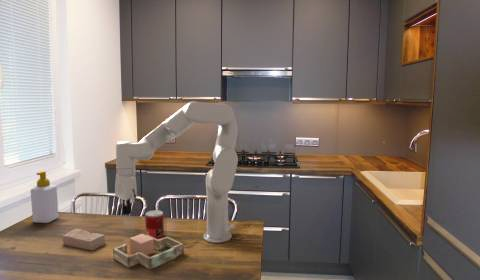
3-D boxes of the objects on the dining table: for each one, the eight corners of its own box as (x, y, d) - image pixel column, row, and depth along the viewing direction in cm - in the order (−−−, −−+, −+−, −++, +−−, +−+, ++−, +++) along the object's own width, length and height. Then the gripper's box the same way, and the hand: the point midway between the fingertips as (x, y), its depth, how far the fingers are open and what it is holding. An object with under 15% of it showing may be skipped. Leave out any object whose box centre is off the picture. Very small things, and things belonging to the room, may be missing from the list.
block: (142, 247, 151) (142, 233, 150) (154, 252, 146) (153, 238, 145) (130, 251, 146) (129, 238, 146) (141, 257, 141) (140, 243, 140)
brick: (106, 243, 155) (105, 233, 154) (92, 251, 147) (91, 240, 146) (77, 238, 161) (76, 228, 160) (61, 245, 153) (61, 234, 152)
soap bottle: (31, 222, 178) (27, 173, 174) (44, 216, 187) (40, 169, 183) (47, 223, 176) (44, 174, 173) (59, 217, 185) (56, 170, 182)
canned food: (159, 240, 157) (159, 216, 156) (142, 238, 159) (142, 215, 158) (166, 233, 165) (166, 210, 163) (150, 232, 166) (149, 209, 165)
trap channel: (157, 240, 157) (157, 232, 156) (185, 253, 145) (185, 244, 144) (112, 257, 141) (111, 248, 141) (139, 273, 129) (138, 263, 128)
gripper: (108, 169, 150) (109, 211, 152) (127, 175, 140) (128, 220, 143) (124, 167, 156) (125, 207, 158) (144, 172, 146) (144, 216, 148)
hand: (126, 213), depth 150 cm, fingers closed
